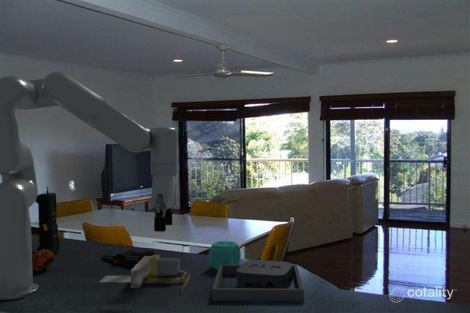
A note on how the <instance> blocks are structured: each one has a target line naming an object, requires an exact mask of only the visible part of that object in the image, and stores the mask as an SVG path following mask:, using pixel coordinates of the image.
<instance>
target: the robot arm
mask: <svg viewBox="0 0 470 313" xmlns="http://www.w3.org/2000/svg"><path fill="white" fill-rule="evenodd" d="M58 106H59V107H61V108H63V109H64V110H65V111H67V112H69V114H72V115H73V116H74V117H76V118H78V119H79V120H80V121H82V122H84V123H85V124H87V125H88V126H89V127H91V128H93V129H95V130H97V131H99V132H100V133H101V134H103V135H105V137H107V138H109V139H111V141H112V142H115V143H117V144H118V145H120V146H121V147H122V148H124V150H125V149H126V150H127V151H129V152H132V153H142V152H148V151H149V152H150V175H151V176H152V184H151V196H150V201H151V202H150V209H151V210H154V215H153V216H154V218H153V220H154V221H153V225H154V226H153V228H154V229H153V230H154V232H161V233H162V232H163V233H164V232H166V231H167V226H172V225H173V205H174V200H175V199H174V195H175V194H174V193H175V191H174V189H175V187H174V180H175V179H174V176H177V175H178V174H177V173H178V131H177V129H176V128H174V127H169V126H167V127H166V126H155V127H143V126H142V125H140V124H139V123H137V122H136V121H134V120H133V119H131V118H130V117H128V116H126V115H125V114H124V113H122V112H120V110H118V109H117V108H115V107H114V106H113V105H111V104H110V102H109V101H108V100H106V99H104V97H102V96H101V95H98V94H97V93H96V92H94V91H92V90H91V88H90V89H89V88H88V87H86V86H85V85H83V84H82V83H81V82H79V81H78V80H76V79H74V78H73V77H72V76H70V75H68V74H67V73H65V72H62V71H53V72H51V73H49V74H47V75H46V76H45V78H40V79H39V78H38V79H30V80H29V79H28V80H26V79H24V78H22V77H19V76H15V75H6V76H3V77H0V176H1V182H0V301H7V300H8V301H9V300H17V299H21V298H26V297H28V296H30V295H31V294H33V293H34V292H35V291H37V290H39V288H40V285H39V283H38V284H37V283H36V282H34V280H33V279H34V278H33V269H32V257H33V253H32V251H33V250H32V249H33V247H32V245H33V244H32V225H31V217H30V210H29V209H30V207H31V206H33V205H34V203H36V199H37V195H39V190H38V182H37V176H36V168H35V163H34V157H33V154H32V151H31V149H30V147H29V146H27V145H26V144H25V143H23V142H21V139H20V135H19V126H18V122H17V119H16V115H15V112H16V109H18V110H24V111H25V110H26V111H27V110H35V109H42V108H50V107H58Z"/></svg>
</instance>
